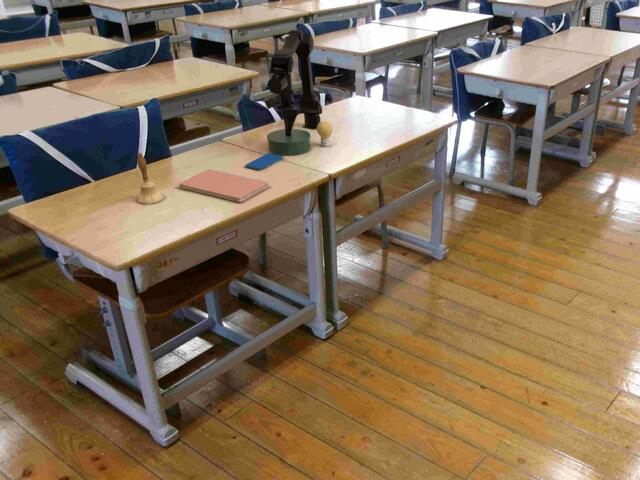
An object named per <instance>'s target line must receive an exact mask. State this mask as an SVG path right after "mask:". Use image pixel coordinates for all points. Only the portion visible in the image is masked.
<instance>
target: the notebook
mask: <svg viewBox="0 0 640 480" xmlns="http://www.w3.org/2000/svg"><path fill="white" fill-rule="evenodd" d="M177 185H179V186H178V188H179V189H184V190H187V191H192V192H196V193H200V194H204V195H208V196H212V197H216V198H220V199H224V200H229V201H233V202H236V203H242V202H244V201H246V200H248V199H249V198H252V197H253V196H255V195H257V194H259V193H260V192H262V191H264V190H266V189H268V188H270V186H269V182H267V181H265V180H263V179H259V178H255V177H249V176H245V175H241V174H236V173H233V172H228V171H224V170H218V169H206V170H204V171H202V172H200V173H198V174H195V175H193V176H191V177H189V178H187V179H184V180H183V181H180V182H178V183H177Z"/></svg>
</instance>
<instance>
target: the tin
mask: <svg viewBox="0 0 640 480" xmlns="http://www.w3.org/2000/svg"><path fill="white" fill-rule="evenodd" d="M267 143H268V145H267V146H268V150H269V153H273V154H277V155H282V156H283V157H286V156H287V157H288V156H289V157H291V156H292V157H293V156H299V155H303V154H305V153H307V152H309V151H310V150H311V137H310V138H309V139H308V140H306V141H303V142H300V143H293V144H280V143H274V142H271V141H269V140H268V139H267Z"/></svg>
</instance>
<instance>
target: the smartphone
mask: <svg viewBox="0 0 640 480" xmlns="http://www.w3.org/2000/svg"><path fill="white" fill-rule="evenodd" d="M283 158H284V156H282V155H277V154H273V153H271V152H267V153H266V154H263V155H261V156H260V157H258V158H255V159H254V160H252V161H250V162H248V163H246V164H245V168H248V169H252V170H257V171H260V170H261V171H262V170H263V169H265V168H267V167H269V166H271V165H273V164H274V163H276V162H279V161H280V160H282V159H283Z"/></svg>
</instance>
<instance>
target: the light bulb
mask: <svg viewBox="0 0 640 480" xmlns="http://www.w3.org/2000/svg"><path fill="white" fill-rule="evenodd" d="M333 130H334V129H333V126H332V124H331V123H330V122H329V121H327V120H323V121H322V120H321V122H320V123H319V124H318V125H317V128H316V132H317V134H318V135H319V137H320V145H321V146H322V147H329V146H330V145H331V138H330V137H331V135H332V133H333Z"/></svg>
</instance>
